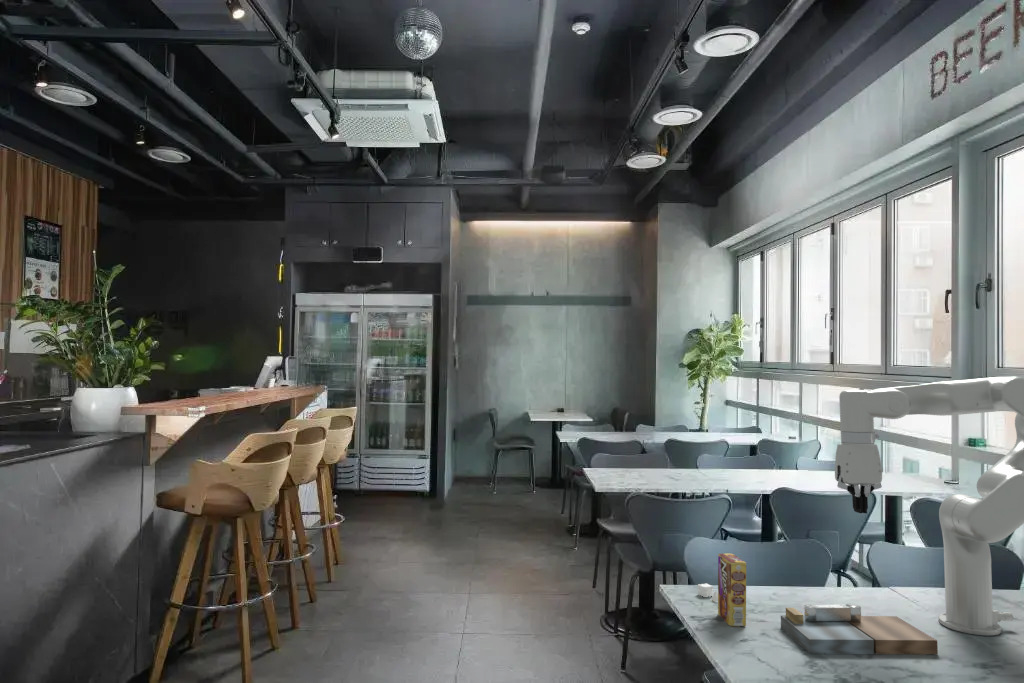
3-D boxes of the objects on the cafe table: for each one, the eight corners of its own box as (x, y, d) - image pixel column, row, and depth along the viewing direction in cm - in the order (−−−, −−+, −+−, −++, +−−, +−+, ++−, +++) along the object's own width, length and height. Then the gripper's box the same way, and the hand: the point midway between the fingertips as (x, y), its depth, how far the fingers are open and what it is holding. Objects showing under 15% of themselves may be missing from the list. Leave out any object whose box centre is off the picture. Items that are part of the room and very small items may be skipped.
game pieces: (697, 596, 183) (697, 584, 183) (707, 594, 184) (706, 583, 185) (726, 609, 172) (725, 596, 172) (736, 607, 173) (736, 595, 173)
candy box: (747, 627, 159) (747, 562, 160) (730, 627, 159) (729, 562, 160) (734, 614, 168) (733, 553, 169) (717, 614, 168) (716, 553, 169)
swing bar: (855, 616, 157) (855, 603, 158) (864, 621, 154) (863, 608, 154) (801, 617, 156) (801, 604, 157) (808, 622, 153) (808, 608, 153)
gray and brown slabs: (896, 629, 159) (896, 607, 159) (937, 654, 144) (937, 631, 144) (780, 628, 158) (780, 606, 159) (809, 653, 143) (809, 629, 144)
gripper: (877, 437, 171) (881, 509, 170) (821, 437, 171) (823, 509, 169) (895, 439, 164) (898, 514, 162) (836, 440, 163) (838, 515, 162)
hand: (860, 512), depth 166 cm, fingers closed
